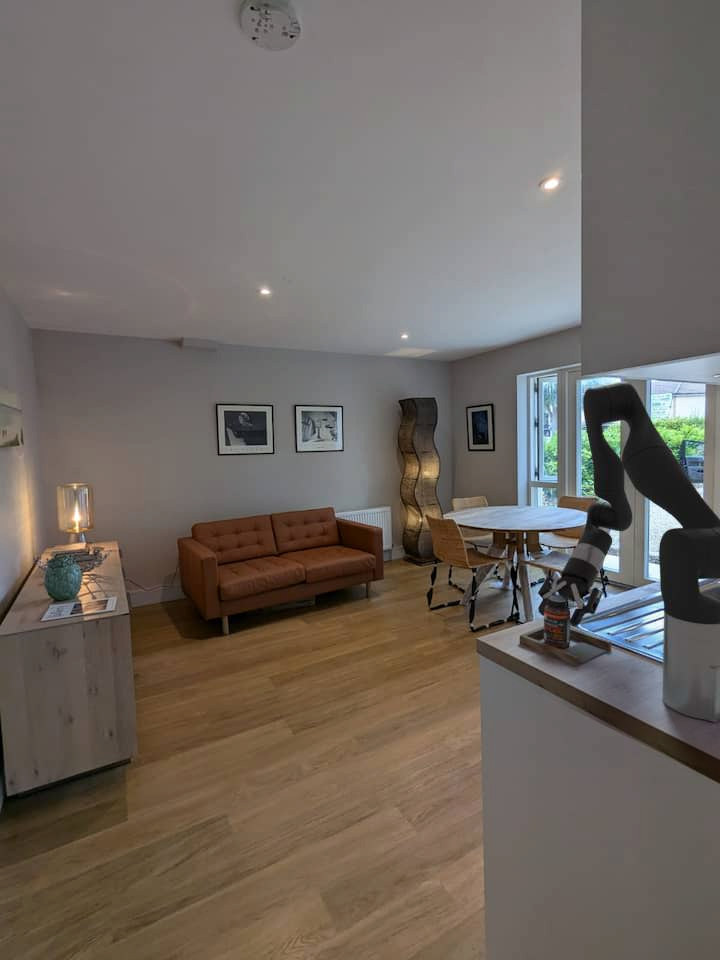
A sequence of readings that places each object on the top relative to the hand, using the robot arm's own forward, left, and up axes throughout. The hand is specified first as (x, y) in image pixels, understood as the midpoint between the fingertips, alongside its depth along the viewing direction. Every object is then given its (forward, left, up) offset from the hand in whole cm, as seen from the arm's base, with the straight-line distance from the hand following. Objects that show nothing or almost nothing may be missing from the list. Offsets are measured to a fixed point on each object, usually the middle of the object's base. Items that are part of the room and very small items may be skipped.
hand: (556, 619), depth 112 cm
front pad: (-7, 0, -6) cm, 9 cm away
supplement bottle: (0, 0, -6) cm, 6 cm away
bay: (-3, 0, -6) cm, 7 cm away
